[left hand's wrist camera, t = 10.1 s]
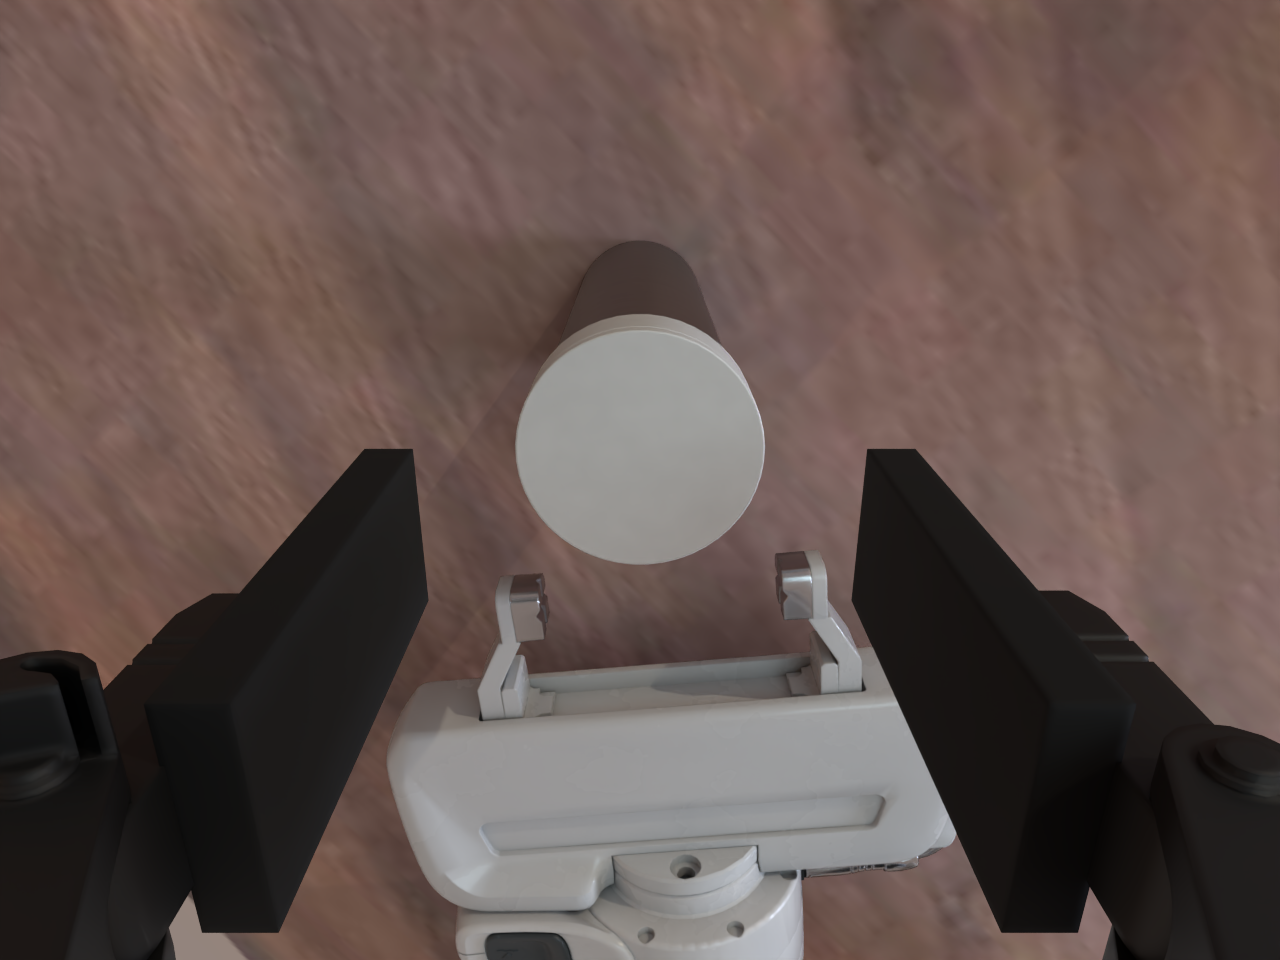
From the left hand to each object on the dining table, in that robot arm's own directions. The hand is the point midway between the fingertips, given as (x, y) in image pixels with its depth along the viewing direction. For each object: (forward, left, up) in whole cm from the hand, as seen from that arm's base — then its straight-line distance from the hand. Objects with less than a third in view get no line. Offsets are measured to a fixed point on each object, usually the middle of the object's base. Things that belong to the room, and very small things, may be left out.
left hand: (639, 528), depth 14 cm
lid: (0, 0, -4) cm, 4 cm away
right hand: (+7, -2, -13) cm, 15 cm away
